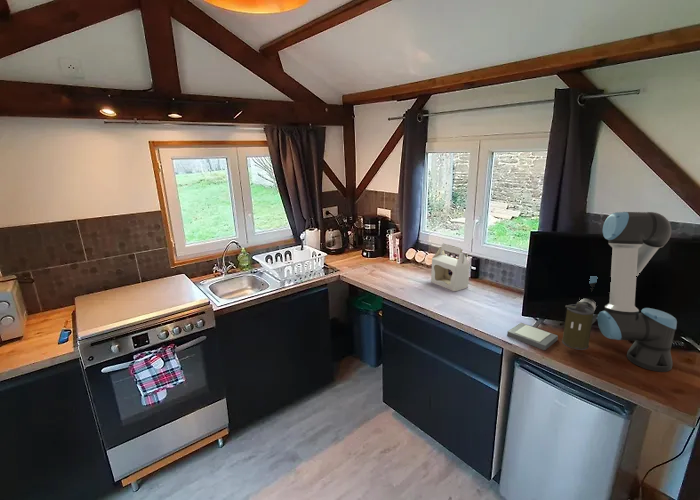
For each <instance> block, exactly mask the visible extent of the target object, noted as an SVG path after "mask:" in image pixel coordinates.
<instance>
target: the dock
mask: <svg viewBox="0 0 700 500" xmlns="http://www.w3.org/2000/svg"><path fill="white" fill-rule="evenodd" d="M506 336H507V337H509V338H512V339H514V340H517V341H519V342H523V343H524V344H526V345H530V346H532V347H534V348H537V349H540V350H543V351H546V350H547V349H549V348H550V347H551V346H553V344H555V343H556V342H557V341H558V339H559V338H558V337H559V335H557V334H554V333H552V332H548V331H546V330H544V329H541V328H537V327H535V326H531V325H529V324H526V323H524V322H520V323H519V324H518V323H517V324H516V325H515V326H514V327H512V328H511V329H509V330H507V334H506Z"/></svg>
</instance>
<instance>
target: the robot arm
mask: <svg viewBox="0 0 700 500" xmlns="http://www.w3.org/2000/svg"><path fill="white" fill-rule="evenodd" d="M602 235H603V237H604V239H605V240H607V241H608V242H607V243H608V245H609V246H610V247H611V248H612V252H611V253H612V255H611V265H610V266H611V267H610V268H611V269H610V277H611V282H610V292H609V299H608V301H609V302H608V303H607V304H605V305H604V310H602V311H599V313H598V314H594V313H595V310H596V308H597V306H596V302H595V301H594V300H593V299H590V298H583V299H581V300H580V299H579V300H580V301H579V300H578V302H581V303H586V304H588V307H590V308H592V309H593V310H594V313H593V319H592V325H593V324H595V322H597V325H598V328H599V331H600V332H601V334H602V335H603V336H604V337H605V338H607V339H609V340H616V341H634V342H633V343H632V345H631V346H630V347H629V349H628V350H627V353H626V358H627V360H629V361H630V363H632V364H634V365H635V366H638V367H640V368H642V369H645V370H648V371H654V372H661V373H666V372H669V371H672V368H673V358H672V353H671V348H672V344H673V341H674V337H675V332H676V330H677V326H678V325H677V324H678V321H677V318H676V317H674V316H673V315H672V314H671V313H668V312H665V311H663V310H660V309H655V308H653V307H652V308H650V307H644V308H642V309H641V310H640V309H639V308H638V307H636V291H637V289H636V288H637V277H638V276H639V275H640V274H641V272H642V271H643V269H644V268H645V267H646V266H647V264H649V261H650V260H651V259H652V258H653V256H654V255H655V254H656V253H657V252H658V250H659V249H660V248H664V246H665V245H666V244H667V243H668V241H670V238H671V236H672V225H671V223H670V220H669V219H668V218H666V217H665V216H664V215H663V214H660V213H657V212H654V211H647V212H645V211H644V212H643V211H619V212H618V211H617V212H612V213H611V214H609V215H608V216H607V218H606V219H605V221H604V222H603V225H602ZM639 273H640V274H639ZM636 276H637V277H636ZM597 279H598V277H597V276H590V279H589V280H590V281H589V284H590V286H591V287H592V288H590V289H591V292H592V291H593V289H594V288H593V287H595V284H596V283H597ZM640 311H641V312H640ZM573 324H574V322H571V328H573ZM578 330H581V324H579V328H578Z"/></svg>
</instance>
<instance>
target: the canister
mask: <svg viewBox="0 0 700 500" xmlns="http://www.w3.org/2000/svg"><path fill="white" fill-rule="evenodd" d="M564 308H566V310H565V317H564V320H565V321H564V325H563V326H564V327H562V329H563V333H562V335H563V336H562V340H561V343H562V344H563V345H564V346H566V347H568V348H569V349H573V350H581V351H583V350H588V349H589V347H590V345H589V343H590V339H591V338H590V336H591V330H592V326H593V324H592V319H593V313H595V311H594V310H593V309H592V308H590V307H588V304H586V303H581V302H579V301H577V302H576V303H575V304H573V303H572V304H568V305H567V304H566V305H565V307H564ZM571 322H574V324H573V328H571ZM579 324H581V330H578V328H579Z"/></svg>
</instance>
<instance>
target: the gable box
mask: <svg viewBox="0 0 700 500" xmlns="http://www.w3.org/2000/svg"><path fill="white" fill-rule="evenodd" d="M445 252H449V253H453V254H455V255H458V258H455V257H452V256H450V255H447V254H446V253H445ZM470 264H471V262H469V260H468V258H467V256H466V254H465V253H464V252H463V249H462V248H461V247H458V246H454V245H451V244H446V243H444V242H442V243H441V246H439V247H438V249H437V250H436V252H435V254H434V255H433V256H432V258H431V273H430V275H431V276H430V283H432V284H435V285H437V286H440V287H442V288H445V289H446V290H447V289H448V290H449V291H452V292H457V291H460V290H464V289H467V288H469V282H470V281H469V280H470V279H469V277H470V267H471V266H470ZM450 271H451V272H452V275H449V272H450Z"/></svg>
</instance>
